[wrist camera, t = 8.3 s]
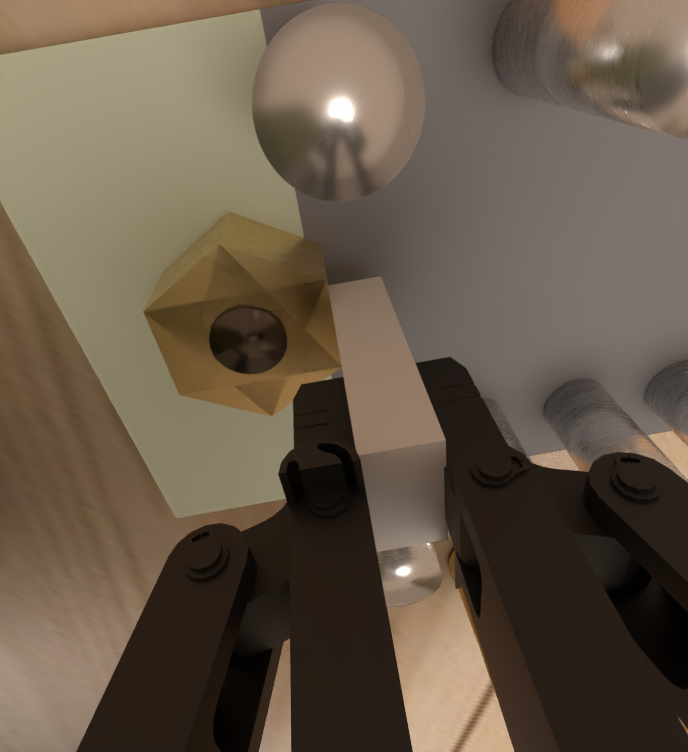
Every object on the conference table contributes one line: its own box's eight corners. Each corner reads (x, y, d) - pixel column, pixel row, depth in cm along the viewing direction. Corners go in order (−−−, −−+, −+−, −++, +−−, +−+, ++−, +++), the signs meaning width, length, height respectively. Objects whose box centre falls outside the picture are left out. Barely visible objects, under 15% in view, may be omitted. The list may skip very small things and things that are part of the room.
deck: (184, 482, 22) (176, 518, 20) (-27, 63, 12) (-74, 67, 11) (663, 397, 22) (694, 426, 20) (821, -86, 12) (903, -104, 11)
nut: (205, 380, 16) (194, 432, 14) (146, 226, 13) (119, 262, 11) (340, 357, 16) (349, 405, 14) (312, 196, 13) (318, 228, 11)
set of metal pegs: (343, 466, 19) (364, 612, 14) (253, 27, 11) (230, 20, 6) (696, 404, 19) (836, 528, 14) (882, -83, 11) (1373, -180, 6)
